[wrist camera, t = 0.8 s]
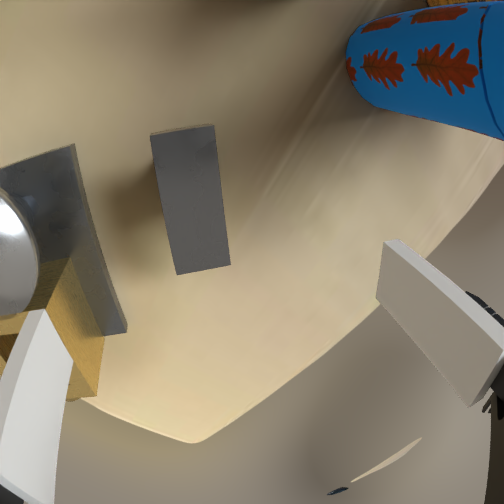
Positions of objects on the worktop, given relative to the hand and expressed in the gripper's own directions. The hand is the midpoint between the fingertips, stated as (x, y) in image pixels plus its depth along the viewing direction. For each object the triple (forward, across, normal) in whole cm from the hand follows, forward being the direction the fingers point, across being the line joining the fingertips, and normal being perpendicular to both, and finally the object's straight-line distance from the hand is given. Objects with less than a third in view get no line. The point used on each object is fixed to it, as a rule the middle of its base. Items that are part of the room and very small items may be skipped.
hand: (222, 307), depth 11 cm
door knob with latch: (+20, -18, -6) cm, 28 cm away
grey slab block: (+20, 0, 0) cm, 21 cm away
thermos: (+21, +22, +10) cm, 32 cm away
